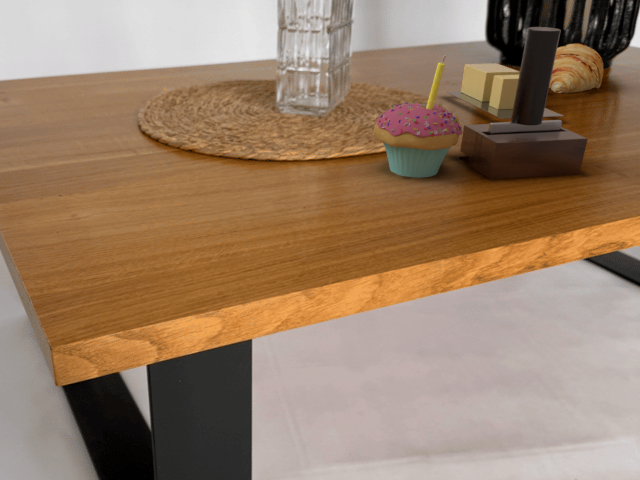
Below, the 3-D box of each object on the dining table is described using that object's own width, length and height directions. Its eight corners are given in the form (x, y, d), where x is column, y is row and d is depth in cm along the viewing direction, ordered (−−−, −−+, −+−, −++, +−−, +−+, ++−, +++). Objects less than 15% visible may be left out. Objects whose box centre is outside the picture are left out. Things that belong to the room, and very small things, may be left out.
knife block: (541, 156, 77) (548, 121, 75) (578, 176, 71) (588, 138, 69) (458, 161, 75) (464, 124, 73) (490, 182, 69) (496, 143, 67)
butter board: (445, 100, 102) (450, 63, 99) (500, 98, 103) (507, 62, 101) (499, 128, 88) (507, 86, 85) (562, 125, 89) (572, 84, 87)
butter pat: (488, 105, 94) (493, 75, 92) (522, 104, 94) (527, 74, 93) (498, 109, 91) (503, 78, 90) (532, 108, 92) (538, 77, 90)
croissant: (574, 126, 102) (614, 80, 97) (518, 88, 103) (554, 40, 98) (583, 95, 119) (617, 55, 114) (534, 63, 120) (566, 21, 115)
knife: (543, 162, 75) (572, 26, 68) (558, 171, 72) (590, 30, 66) (475, 166, 74) (498, 27, 67) (489, 175, 71) (514, 31, 64)
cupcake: (470, 173, 71) (489, 52, 66) (423, 192, 66) (440, 63, 60) (401, 155, 77) (414, 42, 71) (353, 171, 71) (363, 51, 66)
